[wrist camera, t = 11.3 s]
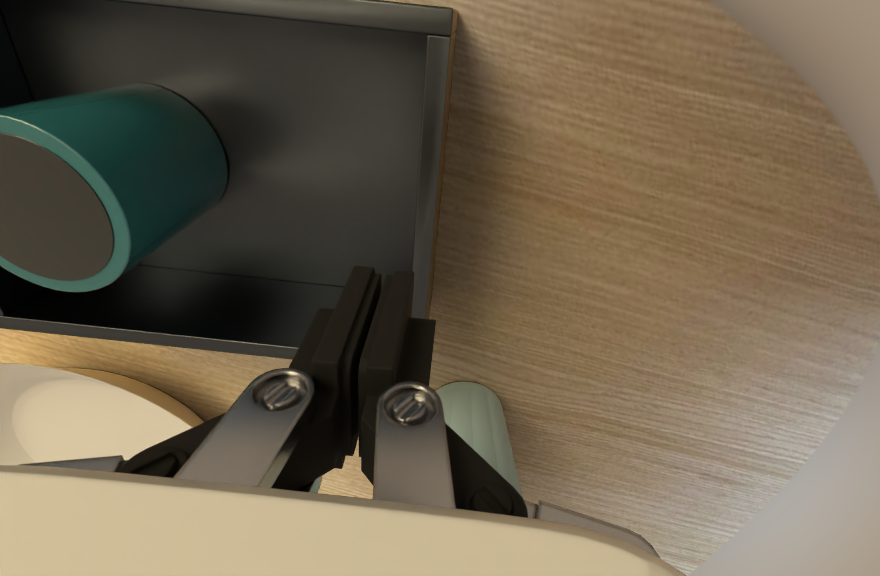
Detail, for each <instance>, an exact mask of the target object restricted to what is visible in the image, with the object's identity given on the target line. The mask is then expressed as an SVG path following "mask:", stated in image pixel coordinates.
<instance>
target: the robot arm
mask: <svg viewBox="0 0 880 576" xmlns="http://www.w3.org/2000/svg"><path fill="white" fill-rule="evenodd" d="M381 288H382V275H381V273H375V268H373V267H363V266H354V267H353V269H352V272H351V274H350V276H349V278H348V280H347V283H346V285H345V287H344V289H343V291H342V294H341V296H340V298H339V300H338V303H337V305H336V307H335V309H328V308H320V309H319V310H318V311H317V313H316V315H315V317H314V319H313V321H312V323H311V325H310V327H309V329H308V331H307V333H306V335H305V337H304V339H303V340H302V342H301V344H300V346H299V348H298V350H297V352H296V354H295V356H294V358H293V360H292V362H291V364H290V366H289V368H282V369H275V370H272V371H268V372H265V373H264V374H262V375H260V376H258V377H257V378H255V379H254V380H253V381H252V382H251V383H250V384H249V385H248V387H247V388H246V389H245V390H244V391H243V393H242V394H241V395H240V396H239V398H238V399H237V400H236V401H235V402H234V404H233V405H232V406H231V407H230V409H229V410H228V411H227V412H226V413H224V414H222V415H220V416H217V417H215V418H213V419H211V420H209V421H206V422H204V423H202V424H200V425H198V426H195V427H193V428H191V429H189V430H186V431H184V432H182V433H180V434H178V435H175V436H173V437H171V438H169V439H167V440H164V441H162V442H160V443H158V444H156V445H153V446H151V447H149V448H147V449H145V450H143V451H141V452H140V453H138V454H136V455H134V456H133V457H132V458H130V459H129V460H124V458H123V456H122V455H118V456H107V457H96V458H85V459H74V460H62V461H51V462H40V463H29V464H20V465H0V576H686V575H685V574H683V573H682V572H680V571H679V570H677V569H676V568H675V567H673V566H671V565H670V564H668V563H667V562H665V561H663V560H662V559H660V557H659V556H658V554H657V553H656V551H655V550H654V548H653V547H652V545H651V544H650V543H648V542H647V541H646V540H645V539H644V538H643V537H642V536H641V535H639V534H637V533H635V532H633V531H631V530H629V529H626V528H623V527H620V526H617V525H614V524H611V523H608V522H605V521H602V520H598V519H595V518H592V517H589V516H586V515H583V514H580V513H577V512H574V511H571V510H568V509H565V508H562V507H559V506H556V505H553V504H550V503H547V502H544V501H541V500H539V502H538V505H537V504H534V503H531V502H528V501H525V500H523V498H522V496H521V495H520V494H519V493H518V492H517V490H516V489H515V488H514V487H513V486H512V485H511V484H510V483H509V482H508V481H507V480H505V479H504V478H503V477H502V476H501V475H500V474H499V473H498V472H497V471H496V470H495V469H494V468H493V467H492V466H491V465H490V464H489V463H487V462H486V461H485V460H484V459H483V458H482V457H481V456H480V455H479V454H478V453H477V452H476V451H475V450H474V449H473V448H472V447H470V446H469V445H468V444H467V443H466V442H465V441H464V440H463V439H462V438H461V437H460V436H459V435H458V434H457V433H456V432H455V431H454V430H452V429H451V428H450V427H449V426H448V425H447V424H446V423H445V419H444V411H443V404H442V401H441V398H440V396H439V395H438V394H437V393H436V391H435V390H433V389H432V388H430V387H429V379H430V370H431V361H432V352H433V342H434V333H435V324H436V320H430V319H421V318H412V304H413V290H414V272H410V271H401V270H395V271H394V275H390V274H387V275H386V278H385V281H384V285H383V288H382V291H381ZM358 436H359V457H361V471H362V472H363V473H364V475H365V476H366V477H367V478H368V480H369V481H370V482H371V483H372V485H373V499H365V498H356V497H347V496H338V495H329V494H320V493H317V492H318V490H319V488H320V485H321V481H322V475H324V474H325V473H327V472H329V471H330V470H332V469H334V468H339V469H342V467H343V463H344V460H345V456H346V455H348V456H353V454H354V451H355V448H356V444H357V440H358Z"/></svg>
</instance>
